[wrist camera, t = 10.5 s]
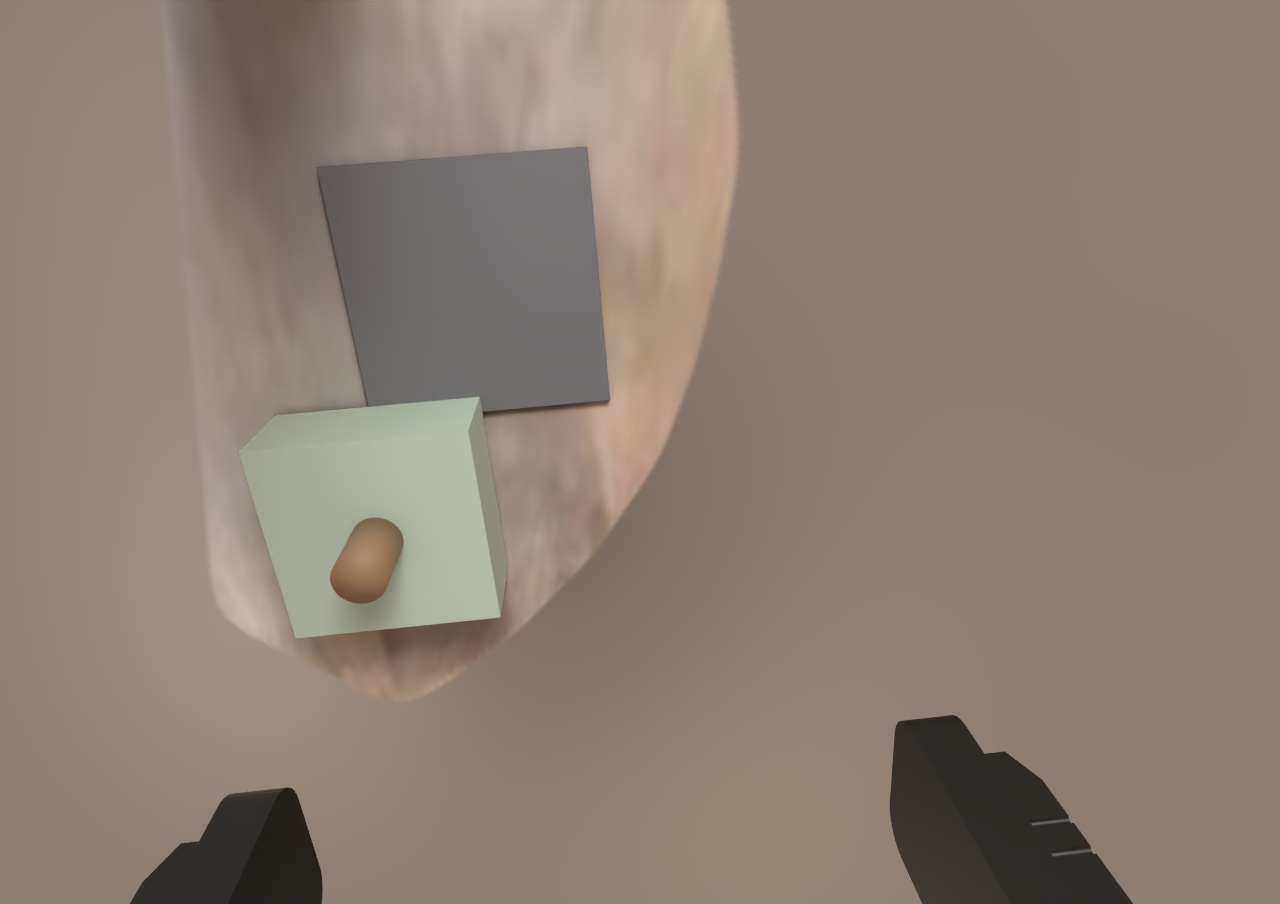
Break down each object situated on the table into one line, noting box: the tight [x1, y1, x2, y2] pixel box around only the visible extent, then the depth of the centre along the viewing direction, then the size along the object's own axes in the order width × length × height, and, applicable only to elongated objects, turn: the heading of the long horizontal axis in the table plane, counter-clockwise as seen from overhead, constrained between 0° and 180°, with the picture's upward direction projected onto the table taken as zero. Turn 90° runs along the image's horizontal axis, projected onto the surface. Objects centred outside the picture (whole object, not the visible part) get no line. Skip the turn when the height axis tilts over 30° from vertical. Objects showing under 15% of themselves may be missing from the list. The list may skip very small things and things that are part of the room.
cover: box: [238, 397, 508, 638], centre depth 43 cm, size 12×12×9 cm
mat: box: [317, 147, 610, 412], centre depth 43 cm, size 14×14×1 cm
